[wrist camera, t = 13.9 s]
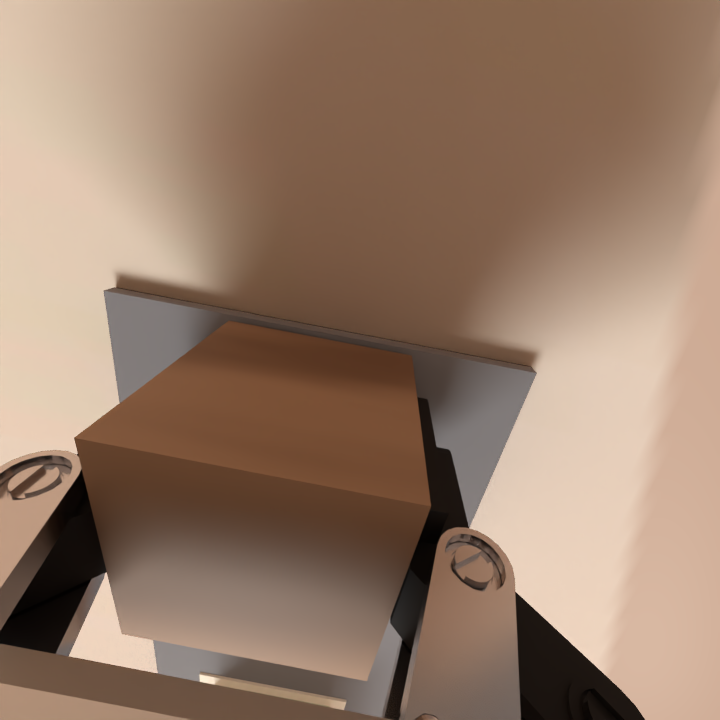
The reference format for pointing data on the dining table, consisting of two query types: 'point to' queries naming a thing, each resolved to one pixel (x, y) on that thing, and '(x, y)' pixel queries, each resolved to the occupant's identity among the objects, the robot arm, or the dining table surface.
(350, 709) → the build mat
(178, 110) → the dining table surface
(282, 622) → the walnut cube
